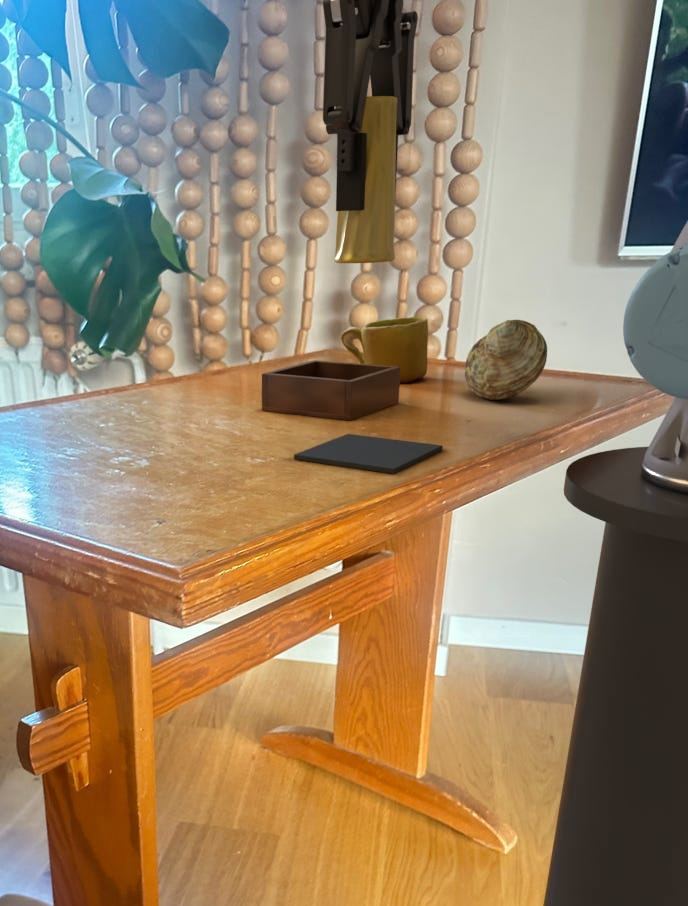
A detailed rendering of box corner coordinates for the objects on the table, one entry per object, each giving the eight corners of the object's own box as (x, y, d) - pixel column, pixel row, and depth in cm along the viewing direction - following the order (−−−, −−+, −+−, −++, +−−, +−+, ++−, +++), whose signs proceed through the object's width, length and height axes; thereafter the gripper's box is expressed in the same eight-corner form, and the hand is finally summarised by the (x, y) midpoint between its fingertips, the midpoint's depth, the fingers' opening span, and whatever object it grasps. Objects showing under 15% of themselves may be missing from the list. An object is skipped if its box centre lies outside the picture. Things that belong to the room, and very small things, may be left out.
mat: (442, 450, 94) (442, 445, 94) (393, 474, 86) (393, 468, 86) (347, 438, 100) (347, 433, 100) (293, 459, 92) (293, 454, 92)
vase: (325, 262, 95) (327, 103, 89) (380, 259, 96) (386, 102, 90) (347, 264, 90) (351, 95, 84) (405, 261, 91) (413, 94, 85)
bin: (398, 403, 117) (400, 366, 115) (350, 420, 108) (351, 381, 106) (313, 394, 124) (314, 360, 122) (261, 410, 115) (261, 373, 113)
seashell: (554, 393, 120) (565, 312, 116) (529, 408, 112) (540, 322, 108) (475, 387, 126) (482, 310, 122) (445, 401, 117) (452, 318, 113)
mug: (448, 361, 134) (432, 295, 129) (422, 394, 128) (405, 326, 123) (374, 372, 142) (356, 310, 137) (346, 404, 136) (326, 340, 131)
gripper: (387, -52, 90) (377, 210, 100) (281, -93, 77) (282, 213, 87) (460, -68, 86) (442, 207, 95) (360, -114, 73) (351, 210, 82)
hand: (365, 209), depth 91 cm, fingers closed on vase, 5 cm apart
